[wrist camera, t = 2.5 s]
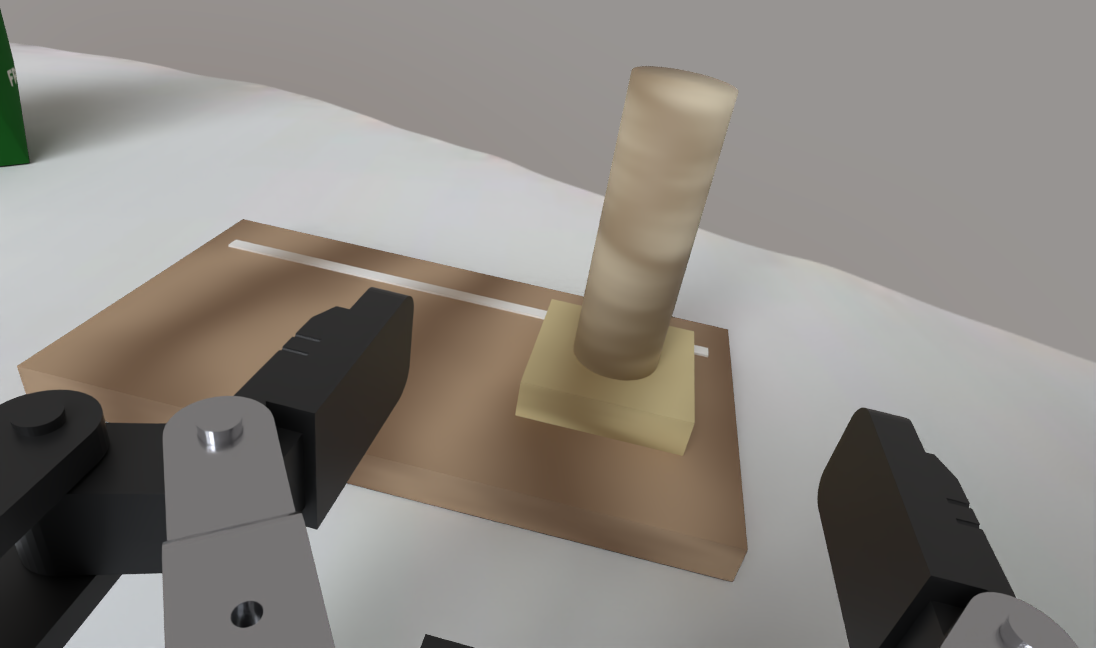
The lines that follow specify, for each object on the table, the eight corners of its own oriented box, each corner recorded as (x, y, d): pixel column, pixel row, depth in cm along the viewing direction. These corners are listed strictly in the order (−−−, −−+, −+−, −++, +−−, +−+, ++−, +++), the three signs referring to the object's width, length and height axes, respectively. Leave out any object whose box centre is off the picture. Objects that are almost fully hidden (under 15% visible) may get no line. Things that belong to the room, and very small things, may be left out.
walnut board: (718, 355, 32) (728, 327, 31) (732, 582, 21) (748, 547, 20) (245, 246, 34) (242, 217, 33) (28, 401, 23) (15, 363, 22)
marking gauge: (684, 360, 28) (775, 80, 22) (683, 456, 23) (799, 126, 17) (546, 329, 29) (598, 45, 23) (515, 415, 24) (570, 80, 18)
